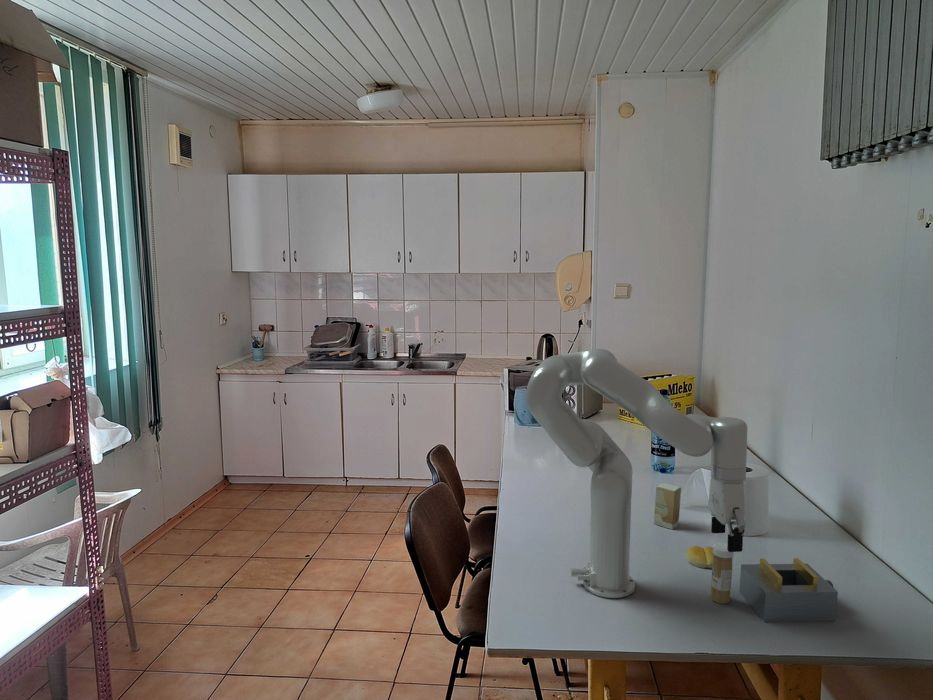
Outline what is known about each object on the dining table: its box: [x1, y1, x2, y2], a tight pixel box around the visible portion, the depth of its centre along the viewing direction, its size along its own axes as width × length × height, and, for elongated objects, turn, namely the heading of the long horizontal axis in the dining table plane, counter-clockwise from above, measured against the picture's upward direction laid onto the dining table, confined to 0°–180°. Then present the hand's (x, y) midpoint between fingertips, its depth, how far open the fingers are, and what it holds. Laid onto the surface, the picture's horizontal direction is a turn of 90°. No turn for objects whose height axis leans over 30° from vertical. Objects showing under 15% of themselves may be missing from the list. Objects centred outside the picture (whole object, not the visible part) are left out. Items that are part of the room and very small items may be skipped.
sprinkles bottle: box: [710, 542, 734, 604], centre depth 155 cm, size 5×5×14 cm
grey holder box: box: [739, 557, 839, 623], centre depth 152 cm, size 18×13×10 cm
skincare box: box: [653, 482, 682, 530], centre depth 196 cm, size 6×4×12 cm
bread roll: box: [685, 545, 713, 570], centre depth 174 cm, size 8×9×4 cm
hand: (726, 541), depth 153 cm, fingers open, 9 cm apart
